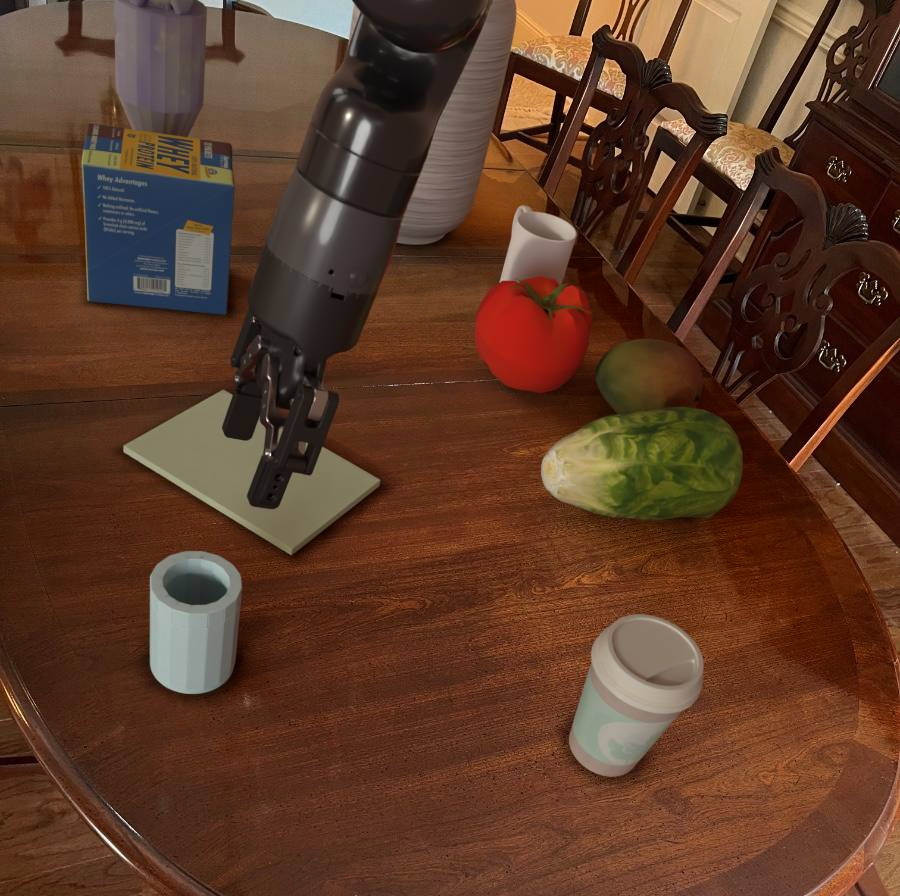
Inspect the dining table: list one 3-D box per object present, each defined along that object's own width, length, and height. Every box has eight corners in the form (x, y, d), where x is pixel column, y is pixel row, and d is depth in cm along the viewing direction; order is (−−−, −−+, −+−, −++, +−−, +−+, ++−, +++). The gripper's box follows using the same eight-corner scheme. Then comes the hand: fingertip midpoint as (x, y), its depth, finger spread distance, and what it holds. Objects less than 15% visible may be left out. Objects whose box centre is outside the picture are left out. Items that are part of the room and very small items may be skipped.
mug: (562, 317, 130) (586, 243, 123) (508, 316, 127) (530, 239, 120) (529, 271, 138) (550, 198, 131) (477, 268, 135) (496, 193, 128)
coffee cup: (558, 786, 76) (608, 689, 68) (547, 700, 82) (592, 601, 74) (662, 796, 78) (723, 703, 70) (643, 711, 84) (698, 615, 76)
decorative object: (155, 226, 124) (156, -47, 103) (101, 192, 127) (91, -79, 107) (216, 209, 131) (229, -51, 110) (163, 176, 134) (165, -81, 113)
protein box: (92, 256, 116) (86, 121, 105) (226, 271, 120) (233, 142, 109) (85, 302, 109) (79, 162, 98) (228, 316, 113) (236, 183, 102)
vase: (360, 175, 148) (400, -87, 125) (484, 221, 146) (548, -36, 123) (302, 220, 134) (335, -66, 111) (439, 272, 132) (501, -8, 109)
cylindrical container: (131, 664, 76) (130, 582, 70) (189, 619, 80) (193, 538, 74) (195, 708, 74) (200, 627, 68) (251, 660, 79) (259, 580, 72)
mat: (123, 452, 93) (123, 445, 92) (222, 395, 102) (223, 389, 102) (291, 555, 88) (292, 549, 87) (379, 486, 98) (380, 479, 97)
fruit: (664, 463, 111) (698, 389, 104) (566, 415, 114) (593, 339, 107) (695, 420, 119) (729, 348, 112) (603, 376, 122) (631, 303, 115)
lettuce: (511, 476, 103) (541, 386, 96) (677, 469, 111) (717, 385, 103) (553, 552, 96) (589, 460, 88) (727, 538, 104) (774, 453, 96)
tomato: (494, 412, 111) (521, 320, 103) (448, 343, 120) (470, 252, 111) (594, 407, 116) (627, 319, 108) (543, 341, 125) (570, 254, 117)
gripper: (244, 197, 65) (178, 407, 73) (299, 295, 55) (216, 523, 64) (346, 230, 69) (273, 425, 77) (414, 326, 59) (322, 537, 68)
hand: (247, 469), depth 70 cm, fingers open, 8 cm apart
